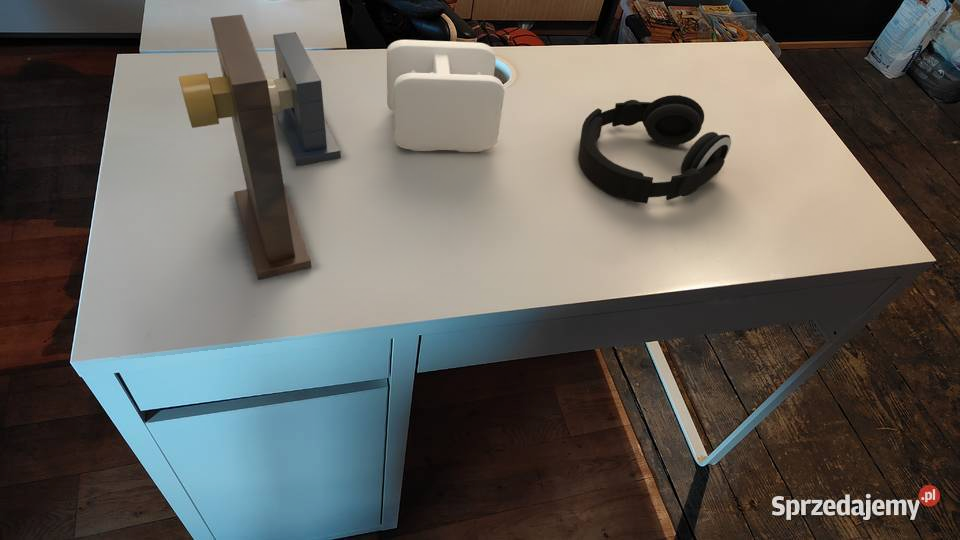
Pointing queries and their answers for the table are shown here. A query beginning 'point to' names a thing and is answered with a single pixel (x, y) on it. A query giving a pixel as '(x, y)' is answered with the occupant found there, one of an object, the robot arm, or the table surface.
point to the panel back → (303, 105)
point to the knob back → (280, 94)
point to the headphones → (664, 124)
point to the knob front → (206, 99)
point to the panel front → (258, 156)
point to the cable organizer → (443, 95)
